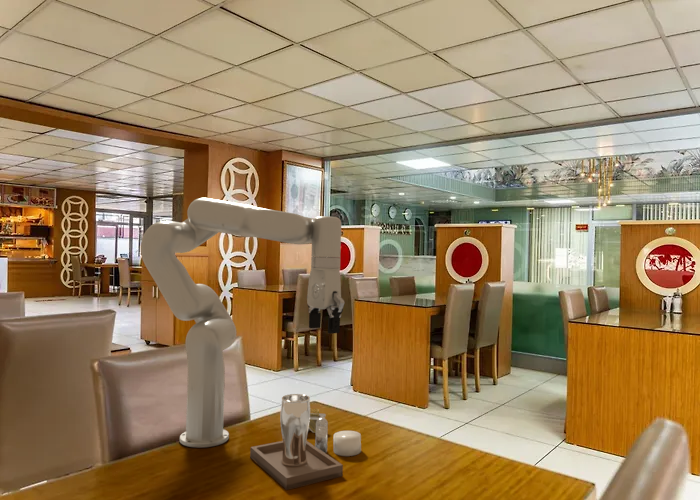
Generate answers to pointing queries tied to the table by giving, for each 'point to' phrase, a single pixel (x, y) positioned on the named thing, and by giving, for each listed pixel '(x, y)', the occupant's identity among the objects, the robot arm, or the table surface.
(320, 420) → the salt shaker
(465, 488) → the table surface
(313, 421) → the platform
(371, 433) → the table surface
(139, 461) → the table surface
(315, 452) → the tray
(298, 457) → the silver metal tumbler
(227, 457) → the table surface
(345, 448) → the white rounded cylinder
